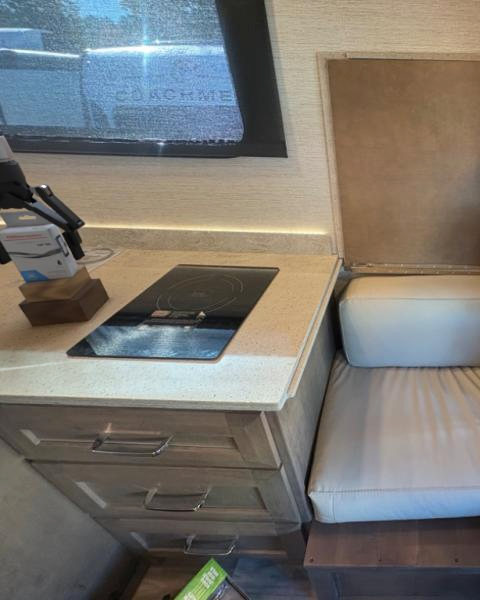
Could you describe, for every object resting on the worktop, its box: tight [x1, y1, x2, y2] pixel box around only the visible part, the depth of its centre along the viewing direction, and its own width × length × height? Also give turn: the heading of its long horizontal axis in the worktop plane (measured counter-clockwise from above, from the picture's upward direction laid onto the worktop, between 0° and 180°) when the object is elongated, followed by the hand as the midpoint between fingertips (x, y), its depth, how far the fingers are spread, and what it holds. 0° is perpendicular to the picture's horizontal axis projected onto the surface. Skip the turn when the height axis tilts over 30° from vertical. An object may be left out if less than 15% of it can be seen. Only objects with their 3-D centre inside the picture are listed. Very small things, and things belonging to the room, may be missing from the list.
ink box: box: [0, 210, 79, 283], centre depth 74 cm, size 8×5×15 cm, turn 115°
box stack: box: [17, 265, 110, 327], centre depth 80 cm, size 11×11×10 cm
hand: (44, 260), depth 76 cm, fingers open, 13 cm apart
